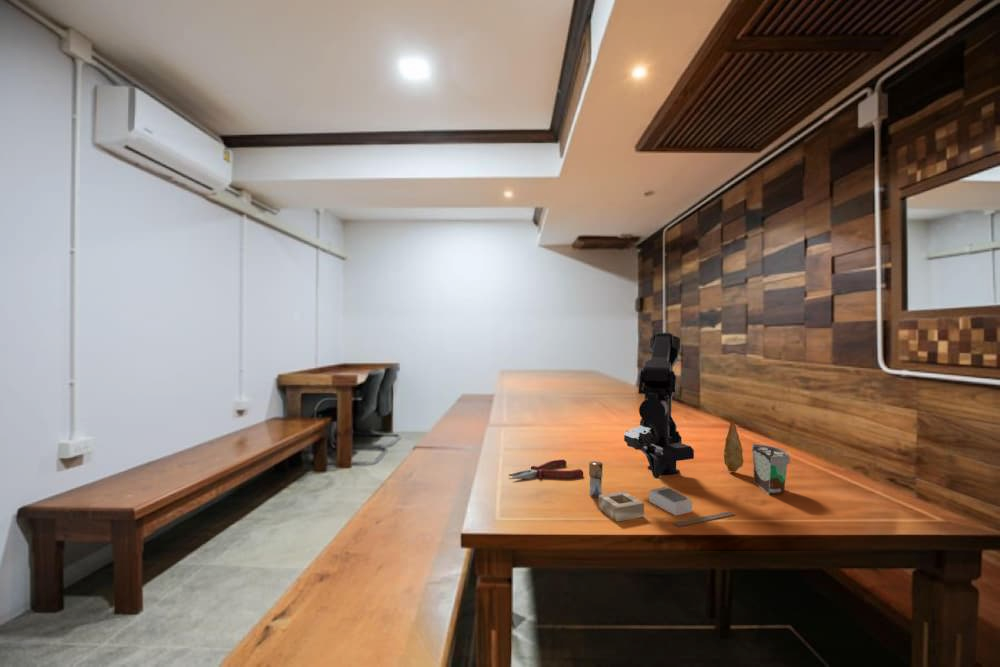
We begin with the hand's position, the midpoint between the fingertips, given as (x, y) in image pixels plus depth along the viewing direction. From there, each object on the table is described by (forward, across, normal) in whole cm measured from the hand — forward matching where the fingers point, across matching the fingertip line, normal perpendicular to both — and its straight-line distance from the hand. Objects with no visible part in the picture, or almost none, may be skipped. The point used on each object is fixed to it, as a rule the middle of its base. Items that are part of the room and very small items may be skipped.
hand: (656, 478), depth 103 cm
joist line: (+4, +15, 0) cm, 15 cm away
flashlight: (+4, -4, -15) cm, 16 cm away
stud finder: (+4, +7, -2) cm, 9 cm away
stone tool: (+4, -5, +32) cm, 33 cm away
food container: (+4, +8, +31) cm, 32 cm away
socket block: (+4, +6, -15) cm, 17 cm away
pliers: (+5, -23, -19) cm, 31 cm away
